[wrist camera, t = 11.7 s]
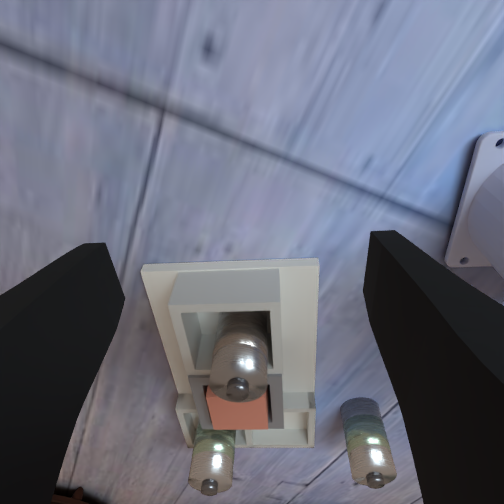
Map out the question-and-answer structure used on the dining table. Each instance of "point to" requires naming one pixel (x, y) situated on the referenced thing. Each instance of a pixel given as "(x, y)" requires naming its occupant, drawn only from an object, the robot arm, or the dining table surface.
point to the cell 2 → (367, 443)
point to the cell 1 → (212, 460)
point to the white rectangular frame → (204, 332)
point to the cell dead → (240, 356)
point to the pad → (238, 413)
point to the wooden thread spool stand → (68, 503)
